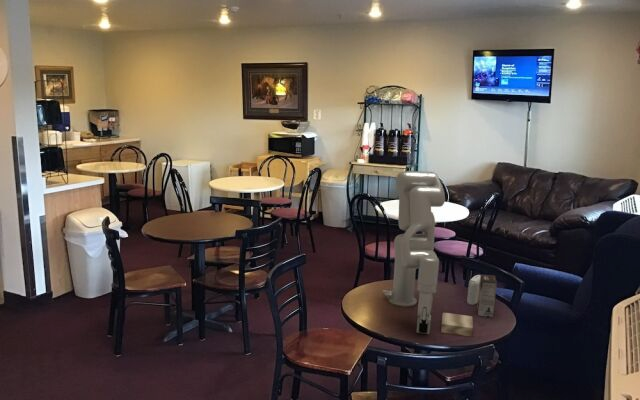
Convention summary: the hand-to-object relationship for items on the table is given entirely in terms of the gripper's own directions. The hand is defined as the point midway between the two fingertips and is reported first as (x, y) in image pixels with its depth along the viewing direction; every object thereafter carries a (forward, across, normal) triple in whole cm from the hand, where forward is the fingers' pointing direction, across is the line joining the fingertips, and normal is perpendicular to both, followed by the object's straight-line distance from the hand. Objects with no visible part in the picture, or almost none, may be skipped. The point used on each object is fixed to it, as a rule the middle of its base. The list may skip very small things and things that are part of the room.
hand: (423, 329), depth 223 cm
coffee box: (+1, -28, +25) cm, 38 cm away
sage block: (+1, 0, 0) cm, 1 cm away
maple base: (+1, -7, +13) cm, 15 cm away
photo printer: (+1, -40, +21) cm, 45 cm away
